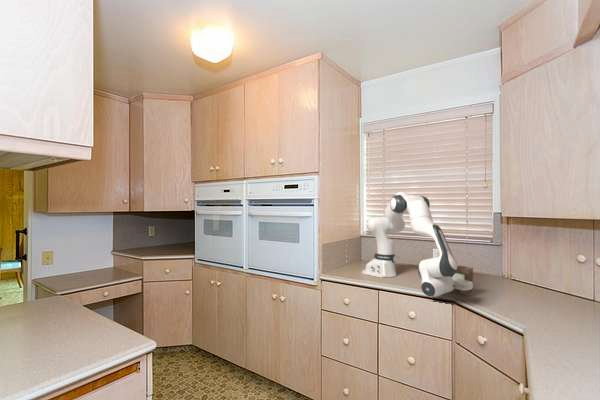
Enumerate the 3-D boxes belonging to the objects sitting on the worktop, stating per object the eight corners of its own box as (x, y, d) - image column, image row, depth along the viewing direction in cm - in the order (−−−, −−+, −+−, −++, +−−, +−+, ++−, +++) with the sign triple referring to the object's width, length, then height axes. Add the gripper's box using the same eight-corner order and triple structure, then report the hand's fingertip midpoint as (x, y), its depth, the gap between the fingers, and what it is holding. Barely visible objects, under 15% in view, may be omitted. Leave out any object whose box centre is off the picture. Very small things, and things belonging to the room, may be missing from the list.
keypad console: (425, 285, 182) (425, 260, 181) (430, 283, 185) (430, 259, 185) (467, 296, 163) (467, 268, 162) (472, 293, 166) (473, 266, 166)
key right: (452, 283, 168) (452, 272, 168) (456, 282, 170) (456, 271, 170) (463, 286, 163) (463, 274, 163) (467, 284, 166) (467, 273, 166)
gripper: (465, 282, 149) (478, 277, 157) (426, 273, 165) (439, 270, 173) (465, 295, 149) (478, 290, 157) (426, 285, 165) (439, 281, 173)
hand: (457, 279), depth 165 cm, fingers closed, pressing on key right
